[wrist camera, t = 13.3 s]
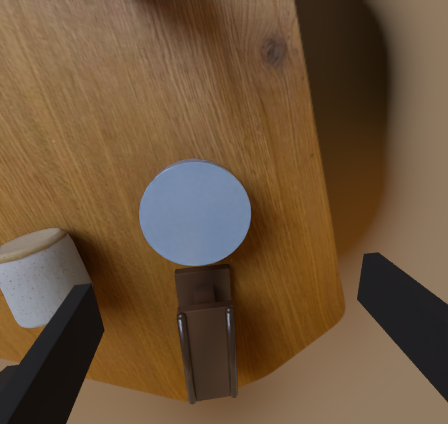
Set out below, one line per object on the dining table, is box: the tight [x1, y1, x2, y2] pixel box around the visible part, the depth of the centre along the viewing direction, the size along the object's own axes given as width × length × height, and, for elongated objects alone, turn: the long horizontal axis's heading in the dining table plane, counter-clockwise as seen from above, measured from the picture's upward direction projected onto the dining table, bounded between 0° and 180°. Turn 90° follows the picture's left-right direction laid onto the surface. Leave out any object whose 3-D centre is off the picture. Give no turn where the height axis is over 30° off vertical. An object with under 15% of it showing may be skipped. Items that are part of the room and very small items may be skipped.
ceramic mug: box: [0, 228, 94, 328], centre depth 28 cm, size 11×8×8 cm
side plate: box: [139, 159, 251, 266], centre depth 27 cm, size 11×11×2 cm
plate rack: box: [175, 264, 238, 404], centre depth 34 cm, size 7×16×8 cm, turn 3°
